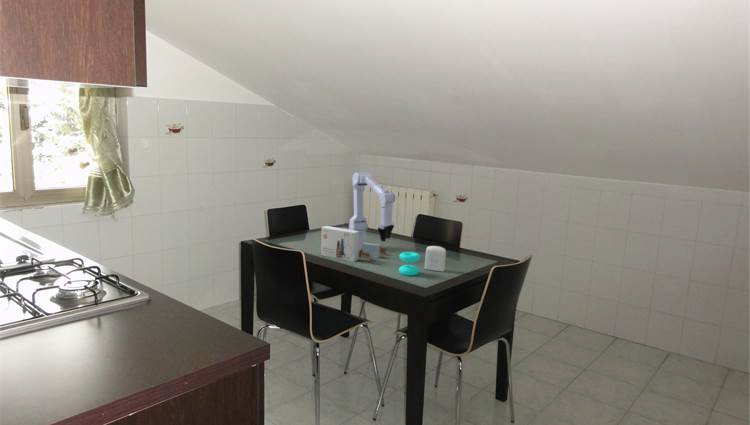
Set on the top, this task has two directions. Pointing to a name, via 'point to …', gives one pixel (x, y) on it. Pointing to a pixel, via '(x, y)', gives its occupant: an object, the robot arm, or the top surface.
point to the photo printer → (435, 258)
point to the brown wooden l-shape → (382, 251)
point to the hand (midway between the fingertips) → (385, 239)
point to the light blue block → (372, 249)
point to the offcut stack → (365, 256)
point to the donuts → (409, 269)
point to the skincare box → (340, 243)
